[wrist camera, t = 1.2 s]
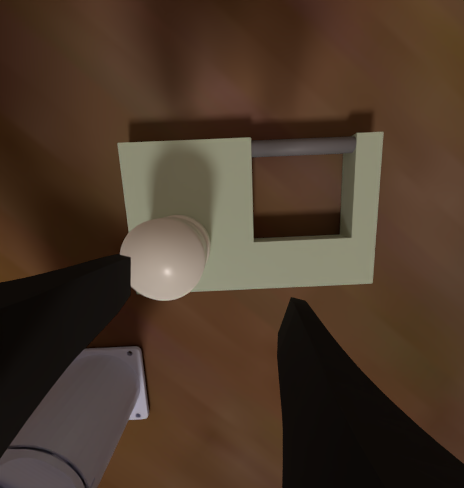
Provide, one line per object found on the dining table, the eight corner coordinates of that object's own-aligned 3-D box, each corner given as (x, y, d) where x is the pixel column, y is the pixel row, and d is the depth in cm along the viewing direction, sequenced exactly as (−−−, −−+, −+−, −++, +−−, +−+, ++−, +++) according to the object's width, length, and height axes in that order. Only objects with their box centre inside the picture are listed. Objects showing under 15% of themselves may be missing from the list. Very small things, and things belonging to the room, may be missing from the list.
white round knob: (152, 276, 19) (125, 302, 14) (145, 216, 18) (114, 221, 13) (212, 273, 19) (206, 298, 14) (208, 213, 18) (201, 217, 13)
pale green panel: (145, 285, 21) (136, 294, 19) (129, 149, 19) (117, 142, 17) (359, 275, 21) (372, 283, 19) (367, 139, 19) (383, 131, 17)
